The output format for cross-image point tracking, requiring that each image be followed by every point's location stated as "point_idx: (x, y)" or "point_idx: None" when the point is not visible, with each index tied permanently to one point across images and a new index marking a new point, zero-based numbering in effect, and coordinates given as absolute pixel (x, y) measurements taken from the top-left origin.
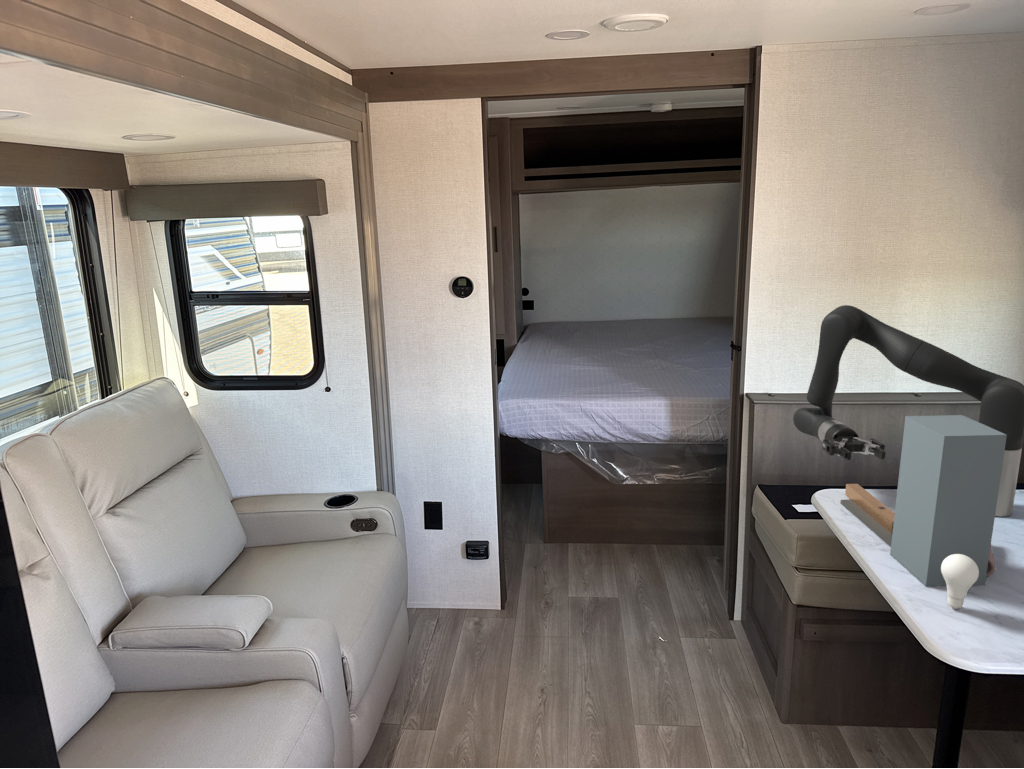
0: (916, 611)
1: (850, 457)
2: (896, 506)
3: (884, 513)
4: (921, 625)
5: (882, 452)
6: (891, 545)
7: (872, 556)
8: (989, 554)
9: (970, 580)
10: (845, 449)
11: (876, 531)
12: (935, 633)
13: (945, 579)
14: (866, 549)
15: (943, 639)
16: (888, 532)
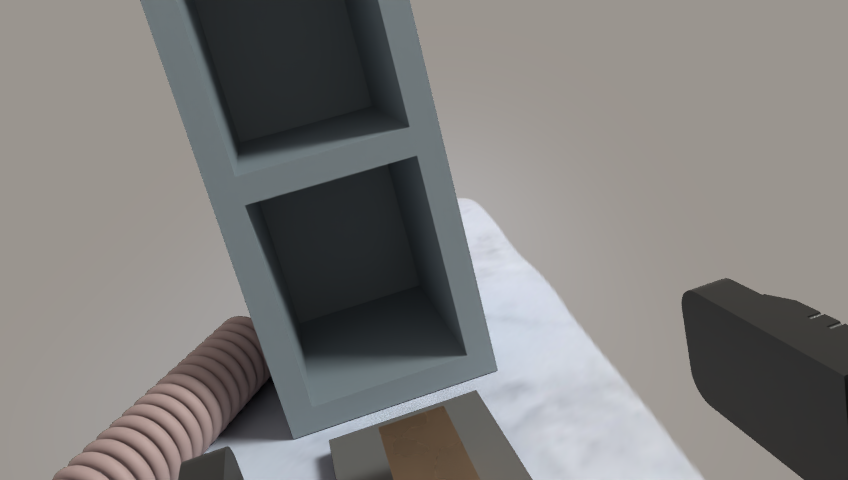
0: (488, 235)
1: (692, 350)
2: (449, 175)
3: (459, 469)
4: (489, 217)
5: (227, 448)
6: (488, 333)
7: (561, 344)
8: (207, 337)
9: None
10: (793, 322)
11: (524, 469)
12: (471, 214)
13: None
14: (580, 371)
15: (463, 210)
16: None
